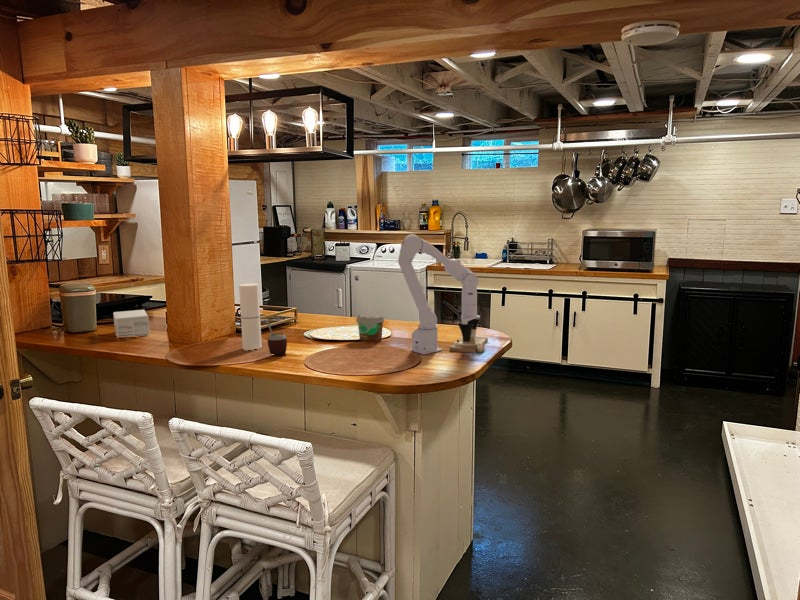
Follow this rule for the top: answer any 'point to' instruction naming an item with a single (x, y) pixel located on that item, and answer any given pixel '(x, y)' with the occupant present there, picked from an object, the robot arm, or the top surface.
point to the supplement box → (131, 323)
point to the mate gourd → (277, 343)
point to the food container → (370, 328)
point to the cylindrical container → (250, 316)
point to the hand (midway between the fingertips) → (469, 339)
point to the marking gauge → (472, 342)
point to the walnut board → (467, 349)
